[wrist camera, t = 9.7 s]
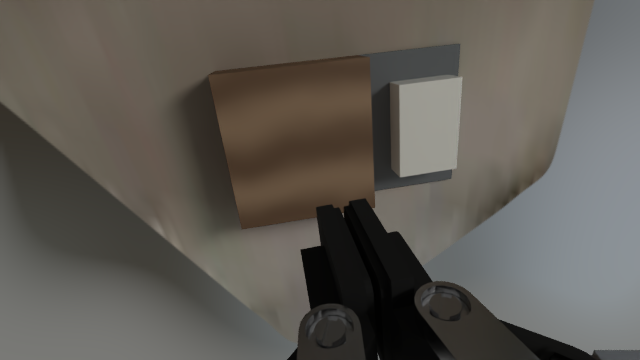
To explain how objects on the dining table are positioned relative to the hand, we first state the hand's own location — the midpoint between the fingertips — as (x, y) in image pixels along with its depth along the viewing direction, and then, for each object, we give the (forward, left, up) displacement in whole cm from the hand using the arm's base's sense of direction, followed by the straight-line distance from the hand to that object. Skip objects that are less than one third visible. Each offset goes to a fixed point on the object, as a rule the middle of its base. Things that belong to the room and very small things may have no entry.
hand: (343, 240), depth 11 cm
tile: (+3, +13, -20) cm, 24 cm away
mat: (+3, +12, -23) cm, 26 cm away
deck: (+3, 0, -23) cm, 23 cm away
